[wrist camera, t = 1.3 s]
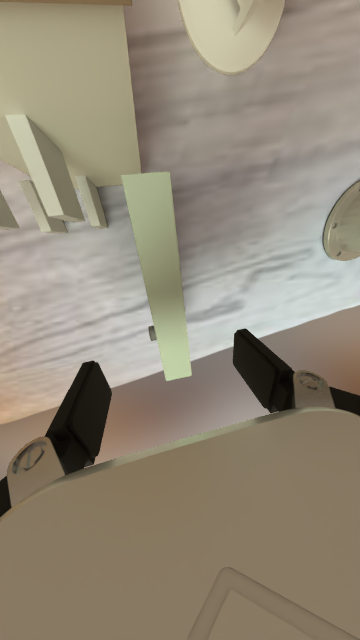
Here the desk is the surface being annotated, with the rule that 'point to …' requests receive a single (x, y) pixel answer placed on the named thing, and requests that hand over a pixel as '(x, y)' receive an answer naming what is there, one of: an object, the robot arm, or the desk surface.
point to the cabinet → (65, 106)
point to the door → (160, 266)
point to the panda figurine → (230, 30)
